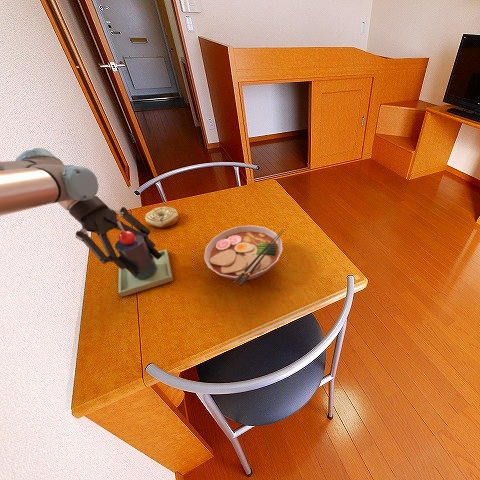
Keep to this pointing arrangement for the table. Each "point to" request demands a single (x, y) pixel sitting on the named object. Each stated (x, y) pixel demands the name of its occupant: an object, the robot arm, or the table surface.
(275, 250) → the ramen bowl
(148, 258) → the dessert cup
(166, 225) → the decorated donut
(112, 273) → the table surface
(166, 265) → the serving tray
